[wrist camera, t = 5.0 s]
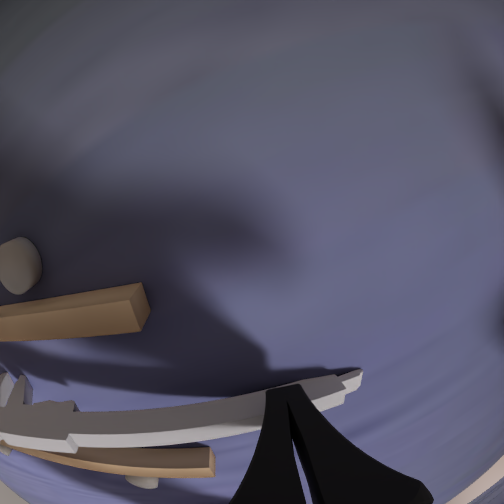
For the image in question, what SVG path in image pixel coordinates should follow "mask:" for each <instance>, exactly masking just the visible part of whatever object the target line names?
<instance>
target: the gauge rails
mask: <svg viewBox="0 0 504 504" xmlns="http://www.w3.org/2000/svg"><path fill="white" fill-rule="evenodd" d="M41 274H42V262H41V258H40V255H39V253H38V250H37V249H36V247H35V246H34V244H33V243H32V242H31V241H30V240H28V239H27V238H24V237H17V238H15V239H13V240H10V241H8V242H6V243H4V244H2V245H1V246H0V281H1V282H2V284H3V285H4V286H5V288H6V289H7V290H8V291H10V292H11V293H13V294H16V295H20V294H23V293H24V292H26V291H27V290H28V289H30V288H31V287H32V286H34V285H35V284H36V283H38V281H39V280H40V278H41ZM150 312H151V309H150V307H149V304H148V301H147V298H146V295H145V291H144V288H143V285H142V282H140V283H135V284H129V285H123V286H117V287H112V288H106V289H100V290H94V291H88V292H83V293H77V294H71V295H65V296H59V297H53V298H47V299H41V300H35V301H29V302H23V303H16V304H10V305H4V306H0V341H32V340H51V339H67V338H80V337H92V336H103V335H113V334H122V333H131V332H140V331H141V330H142V328H143V326H144V324H145V322H146V320H147V318H148V316H149V314H150ZM12 449H14V450H17V451H20V452H23V453H26V454H29V455H32V456H35V457H38V458H42V459H45V460H49V461H53V462H56V463H60V464H64V465H69V466H73V467H78V468H83V469H88V470H94V471H100V472H106V473H113V474H121V475H125V479H126V480H127V481H128V482H129V483H131V484H133V485H135V486H138V487H141V488H146V489H154V488H157V487H158V480H159V478H206V477H215V455H214V454H213V452H212V450H211V448H210V447H201V448H176V449H151V448H127V447H125V448H98V447H78V450H77V452H76V453H63V452H53V451H44V450H36V449H30V448H23V447H18V446H12V445H8V444H7V443H6V442H5V441H4V440H1V441H0V451H1V452H2V453H3V454H5V455H7V456H9V454H10V453H11V451H12Z"/></svg>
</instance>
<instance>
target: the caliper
mask: <svg viewBox="0 0 504 504" xmlns="http://www.w3.org/2000/svg"><path fill="white" fill-rule="evenodd" d="M362 374H363V370H362V369H358V370H354V371H351V372H349V373H346V374H344V375H341V376H338V377H337V376H336V375H335V374H333V375H327V376H322V377H316V378H310V379H304V380H300V381H296V382H293V383H289V384H285V385H282V386H278V387H283V386H288V385H293V384H300V385H301V386H302V388H303V390H304V391H305V393H306V394H307V396H308V397H309V399H310V400H311V401H312V403H313V404H314V405H315V407H316V408H317V409H318V410H319V412H321V411H324V410H327V409H329V408H332V407H335V406H338V405H340V404H343V403H344V398H345V394H347V393H350V392H352V391H355V390H357V388H358V387H359V386H360V383H361V379H362ZM13 386H14V387H13ZM278 387H274V388H278ZM12 388H13V389H12ZM270 389H273V388H270ZM11 390H12V392H11ZM267 390H268V389H266V390H262V391H258V392H253V393H249V394H244V395H240V396H235V397H230V398H225V399H220V400H214V401H208V402H202V403H196V404H189V405H182V406H174V407H165V408H156V409H144V410H130V411H109V412H80V411H79V409H78V407H77V405H76V404H75V402H74V401H72V400H71V401H64V402H55V401H51V400H48V401H44V402H39V403H34V404H33V405H32V396H33V389H32V387H31V385H30V383H29V381H28V380H27V378H26V376H24V375H20V377H19V379H18V381H16V383H15V385H14V383H13V381H12V379H11V378H10V376H9V374H8V372H5V373H2V374H0V441H1V440H4V441H5V442H6V443H7V444H8V445H12V446H18V447H23V448H30V449H36V450H44V451H53V452H63V453H76V452H77V450H78V447H98V448H125V447H148V446H162V445H173V444H182V443H190V442H197V441H204V440H210V439H216V438H222V437H228V436H233V435H238V434H242V433H247V432H252V431H256V430H260V429H261V428H262V423H263V419H264V412H265V403H266V394H265V392H266V391H267ZM10 393H11V394H10ZM9 395H10V396H9ZM8 397H9V398H8ZM7 400H8V402H7ZM6 402H7V405H6ZM5 405H6V406H5Z"/></svg>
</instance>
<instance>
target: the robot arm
mask: <svg viewBox="0 0 504 504" xmlns="http://www.w3.org/2000/svg"><path fill="white" fill-rule="evenodd" d="M265 394H266V403H265V412H264V419H263V423H262V428H261V433H260V436H259V440H258V443H257V446H256V449H255V452H254V455H253V458H252V460H251V463H250V465H249V468H248V470H247V472H246V474H245V476H244V478H243V480H242V482H241V484H240V486H239V488H238V490H237V491H236V493H235V495H234V496H233V498H232V499H231V501H230V503H229V504H306V500H305V497H304V493H303V489H302V485H301V481H300V477H299V473H298V469H297V465H296V461H295V457H294V450H293V442H294V445H295V448H296V451H297V454H298V456H299V459H300V462H301V465H302V468H303V470H304V473H305V476H306V479H307V482H308V486H309V490H310V494H311V498H312V502H313V504H432V503H433V501H434V499H433V497H432V495H431V493H430V492H429V490H428V489H427V488H426V487H425V485H424V484H423V483H422V482H421V481H419V480H417V479H414V478H411V477H409V476H406V475H404V474H402V473H400V472H397V471H395V470H393V469H391V468H389V467H387V466H385V465H384V464H382V463H380V462H379V461H377V460H375V459H374V458H372V457H370V456H369V455H367V454H366V453H364V452H363V451H362V450H360V449H359V448H357V447H356V446H355V445H354V444H352V443H351V442H350V441H349V440H347V439H346V438H345V437H344V436H343V435H342V434H341V433H339V432H338V431H337V430H336V429H335V428H334V427H333V426H332V425H331V424H330V423H329V422H328V421H327V419H326V418H325V417H324V416H323V415H322V414H321V413H320V412H319V410H318V409H317V408H316V407H315V405H314V404H313V403H312V401H311V400H310V399H309V397H308V396H307V394H306V393H305V391H304V390H303V388H302V386H301V385H300V384H293V385H288V386H283V387H278V388H273V389H268V390H267V391H266V392H265ZM292 439H293V442H292ZM468 504H504V477H503V478H502V479H500V480H499V481H498V482H497V483H495V484H494V485H493V486H492V487H490V488H489V489H488V490H486V491H485V492H484V493H482V494H481V495H480V496H478V497H477V498H476V499H474V500H473V501H471V502H470V503H468Z"/></svg>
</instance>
